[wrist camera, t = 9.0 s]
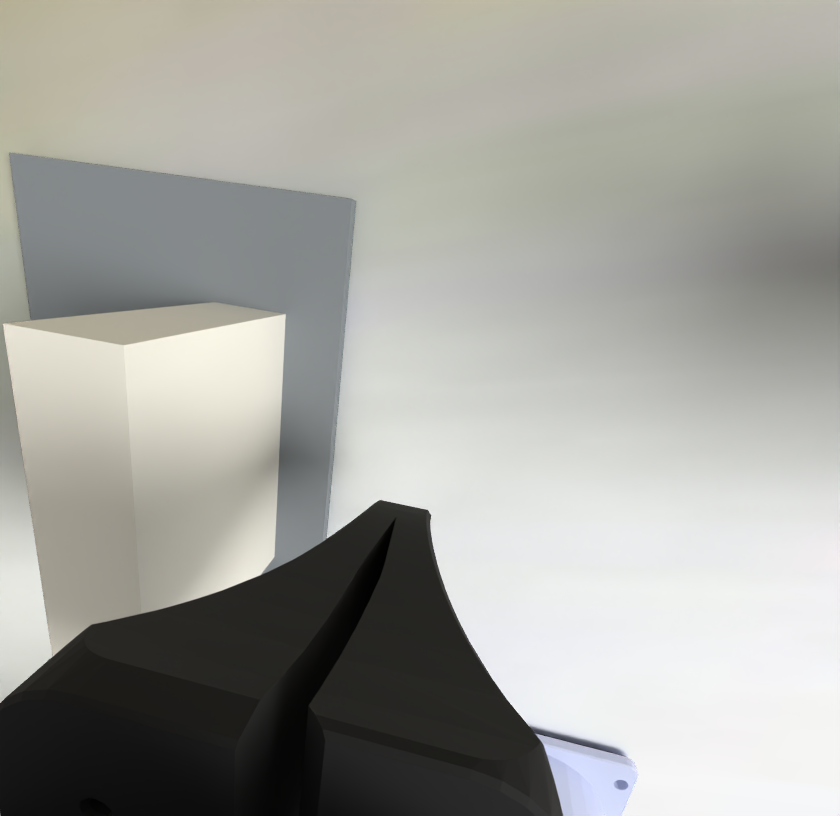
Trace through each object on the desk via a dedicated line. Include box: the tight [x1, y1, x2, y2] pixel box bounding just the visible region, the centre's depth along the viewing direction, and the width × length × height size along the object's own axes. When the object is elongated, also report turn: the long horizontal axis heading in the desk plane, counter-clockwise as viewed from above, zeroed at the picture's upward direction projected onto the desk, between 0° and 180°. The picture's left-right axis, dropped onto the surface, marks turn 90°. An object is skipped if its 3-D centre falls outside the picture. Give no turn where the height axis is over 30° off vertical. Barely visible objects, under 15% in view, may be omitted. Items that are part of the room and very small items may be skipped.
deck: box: [3, 302, 286, 657], centre depth 12 cm, size 9×2×6 cm, turn 172°
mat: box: [9, 153, 356, 575], centre depth 16 cm, size 16×11×1 cm
